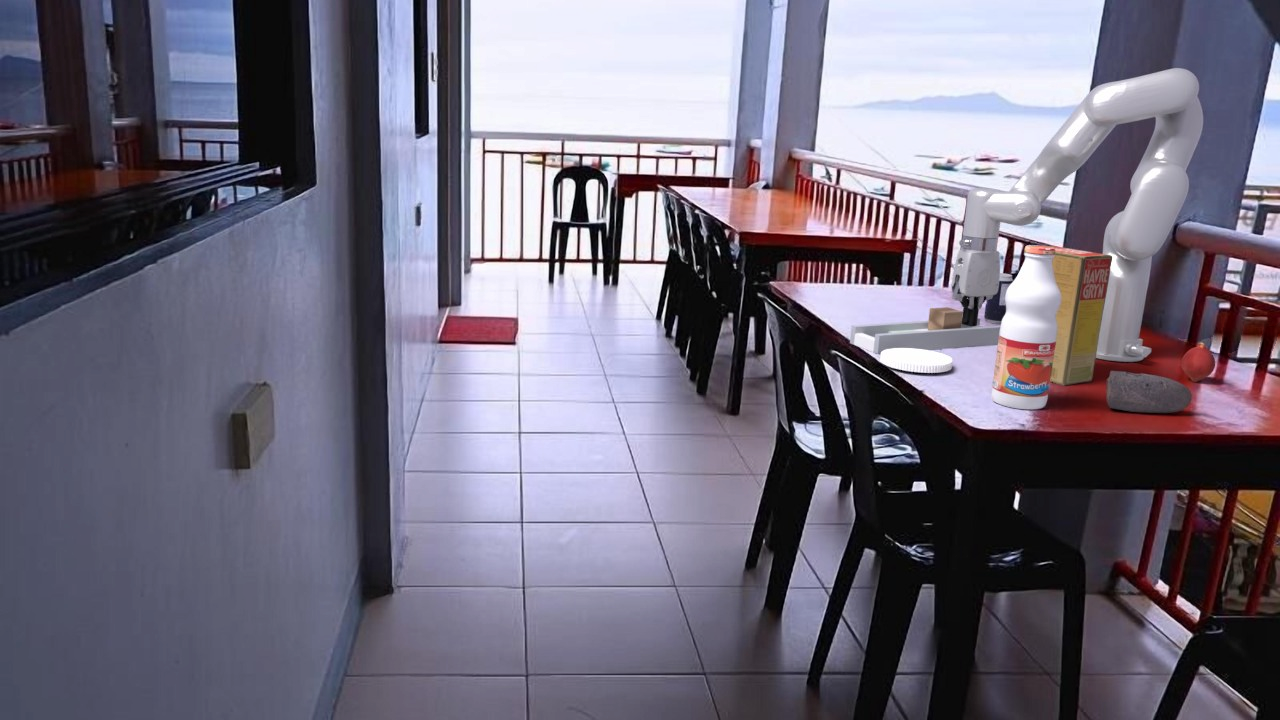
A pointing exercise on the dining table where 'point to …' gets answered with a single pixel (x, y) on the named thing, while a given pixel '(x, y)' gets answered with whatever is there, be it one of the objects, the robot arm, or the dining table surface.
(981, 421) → the dining table surface
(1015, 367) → the fruit juice
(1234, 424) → the dining table surface
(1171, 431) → the dining table surface
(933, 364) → the plastic lid
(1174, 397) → the perforated stone tool
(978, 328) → the trap track
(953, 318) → the walnut block
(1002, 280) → the beverage can
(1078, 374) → the food packaging
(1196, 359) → the onion
